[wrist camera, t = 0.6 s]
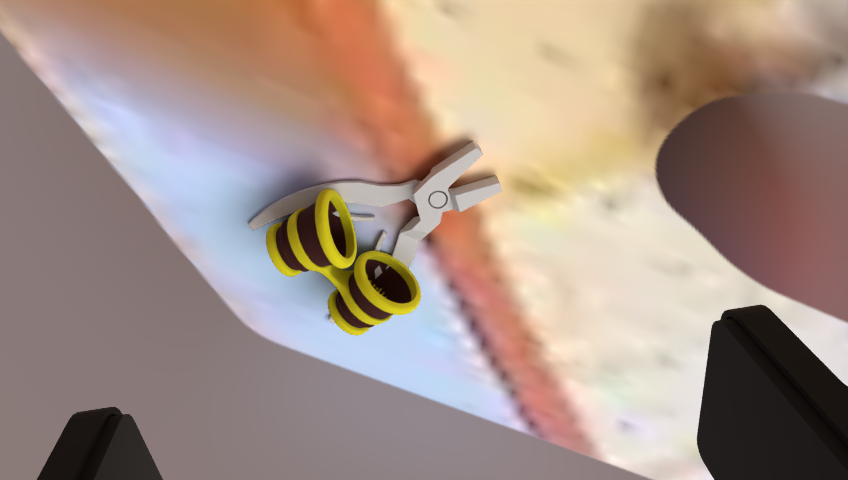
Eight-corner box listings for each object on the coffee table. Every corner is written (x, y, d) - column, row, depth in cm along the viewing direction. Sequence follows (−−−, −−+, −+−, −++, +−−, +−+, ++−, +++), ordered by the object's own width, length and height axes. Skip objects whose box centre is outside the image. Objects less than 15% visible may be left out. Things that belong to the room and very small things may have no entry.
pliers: (243, 228, 39) (452, 102, 36) (247, 217, 40) (449, 94, 38) (334, 334, 43) (526, 228, 41) (334, 320, 45) (520, 217, 42)
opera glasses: (271, 212, 41) (249, 258, 37) (331, 171, 39) (315, 216, 35) (366, 306, 45) (355, 357, 41) (425, 273, 43) (420, 324, 39)
